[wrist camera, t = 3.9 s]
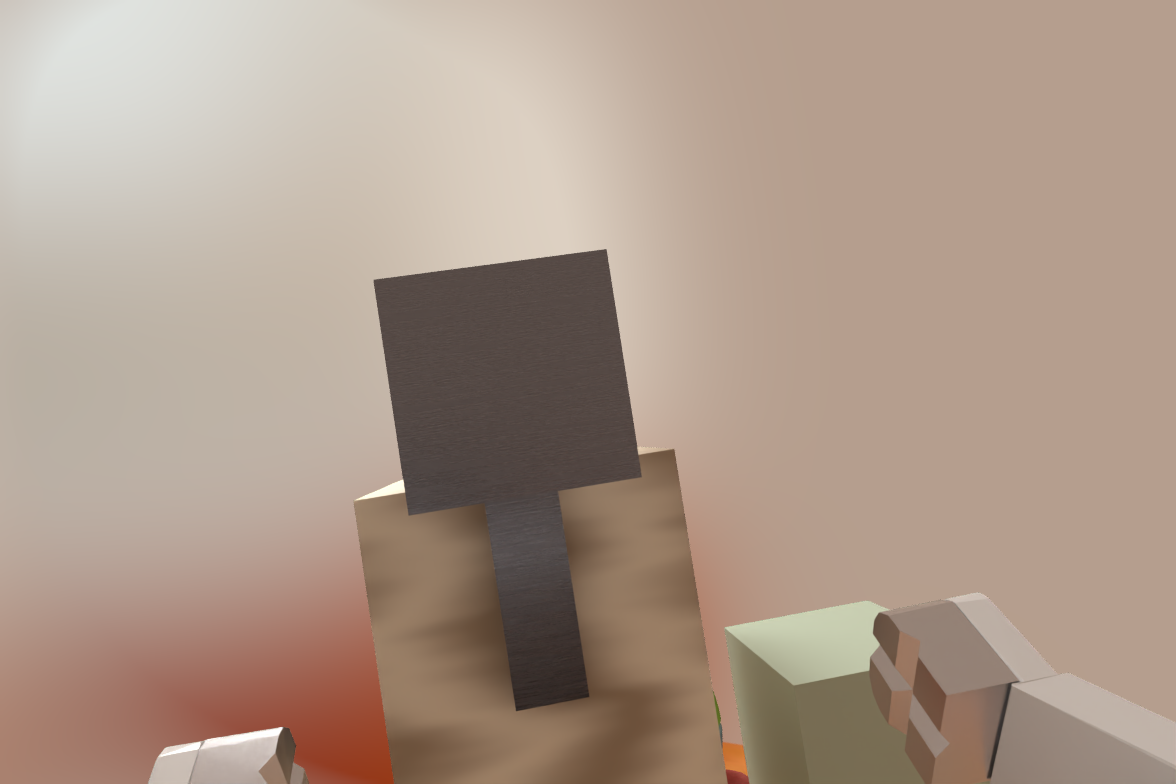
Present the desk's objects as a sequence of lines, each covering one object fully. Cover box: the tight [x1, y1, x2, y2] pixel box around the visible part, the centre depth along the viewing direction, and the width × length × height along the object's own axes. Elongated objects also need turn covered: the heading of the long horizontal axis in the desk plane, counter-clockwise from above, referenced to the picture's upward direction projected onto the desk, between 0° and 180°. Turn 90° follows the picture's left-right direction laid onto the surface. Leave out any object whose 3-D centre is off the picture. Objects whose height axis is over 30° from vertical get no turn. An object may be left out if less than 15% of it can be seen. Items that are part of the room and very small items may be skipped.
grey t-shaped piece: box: [374, 249, 642, 711], centre depth 24 cm, size 5×12×12 cm, turn 6°
